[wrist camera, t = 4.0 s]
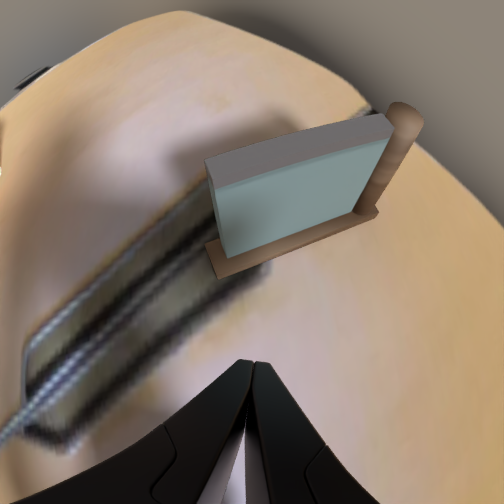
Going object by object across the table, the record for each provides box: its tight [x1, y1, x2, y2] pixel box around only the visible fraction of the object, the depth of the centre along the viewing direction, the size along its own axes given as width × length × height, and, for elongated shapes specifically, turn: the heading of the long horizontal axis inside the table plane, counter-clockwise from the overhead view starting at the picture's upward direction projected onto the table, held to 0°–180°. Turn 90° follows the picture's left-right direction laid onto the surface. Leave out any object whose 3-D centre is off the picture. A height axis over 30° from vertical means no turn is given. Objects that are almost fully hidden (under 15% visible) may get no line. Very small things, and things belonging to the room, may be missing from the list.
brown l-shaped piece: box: [205, 102, 424, 280], centre depth 19 cm, size 3×14×11 cm, turn 113°
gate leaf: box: [204, 113, 395, 259], centre depth 18 cm, size 1×10×9 cm, turn 113°
